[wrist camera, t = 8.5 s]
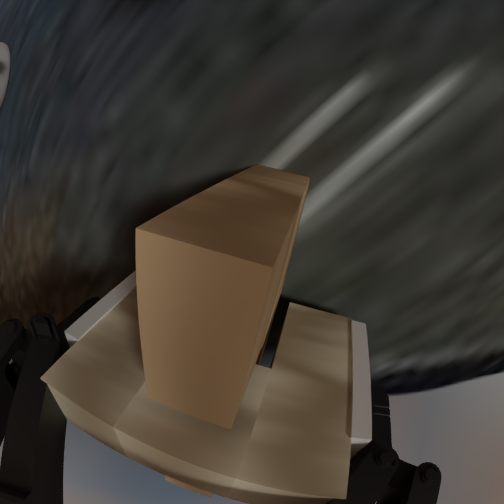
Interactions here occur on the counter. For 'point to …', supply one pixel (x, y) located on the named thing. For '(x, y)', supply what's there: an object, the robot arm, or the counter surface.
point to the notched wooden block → (214, 290)
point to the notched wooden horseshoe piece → (246, 421)
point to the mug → (4, 70)
